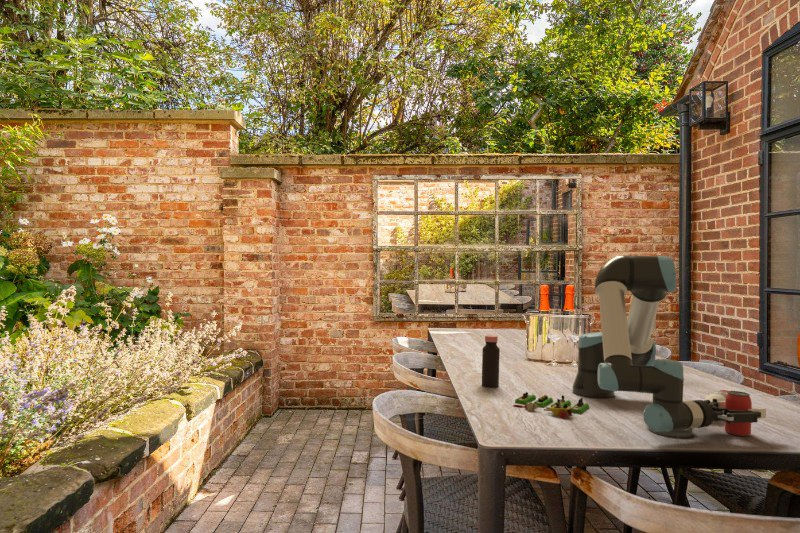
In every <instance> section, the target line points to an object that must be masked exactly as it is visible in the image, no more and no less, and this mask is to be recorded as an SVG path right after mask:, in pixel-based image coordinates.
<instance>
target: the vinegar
mask: <svg viewBox="0 0 800 533" xmlns="http://www.w3.org/2000/svg"><path fill="white" fill-rule="evenodd" d="M484 337H485V338H484V341H485V345H484V346H483V347H482V357H481V358H482V359H481V385H482V387H485V388H498V387H499V385H500V352H501V351H500V348H499V346H498V345H497V344H498V335H491V334H490V335H489V334H488V335H487V334H486V335H485V336H484Z"/></svg>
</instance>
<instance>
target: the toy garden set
mask: <svg viewBox="0 0 800 533" xmlns="http://www.w3.org/2000/svg"><path fill="white" fill-rule="evenodd" d="M536 398H538V397H537V396H536V395H535V394H529V392H527V390H526V391H525V392H523V394H522V396H519V397H518V398H515V400H514V403H515V404H513V407H517V408H524V409H525V410H527V411H528V412H529V411H530V412H534V411H536V410H538V409H539V408H543V409H541V411H542V410H543V412H544V411H545V412H546V411H547V412H551V413H552V414H553V415H554V416H555V417H559V418H560V419H568V416H572V415H573V414H579V415H582V414H583V413H584V412H586V411H587V410H588V409H589V408H590V405H589V403H588V402H584V398H583V397H580V399H578V402H577V403H576V404H574V405H573V406H572V402H571V401H570V400H569V399H567V400H566V399H565V396H564V395H561V398H560V399H559V398H557V399H556V400H557V401H556V402H554V400H553V397H549V396H548V395H546V394H545V395H543V396H541V397H539V398H538V399H537V400H536ZM553 402H554V403H553ZM551 403H553V404H551ZM520 404H521V405H520ZM550 404H551V405H550ZM549 405H550V407H547V406H549Z"/></svg>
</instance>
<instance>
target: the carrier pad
mask: <svg viewBox="0 0 800 533" xmlns="http://www.w3.org/2000/svg"><path fill="white" fill-rule="evenodd" d="M646 427H647V430H648V431H650V432H651V433H654V434H657V435H661V436H665V437H670V438H671V437H672V438H690V437H692V436H693V429H694V428H690V429H687V430H686V431H685V430H684V429H681V430H674V431H668V432H666V431H661V432H657V431H653V430H651V429H650V428H649V427H648V426H647V425H646Z"/></svg>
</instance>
